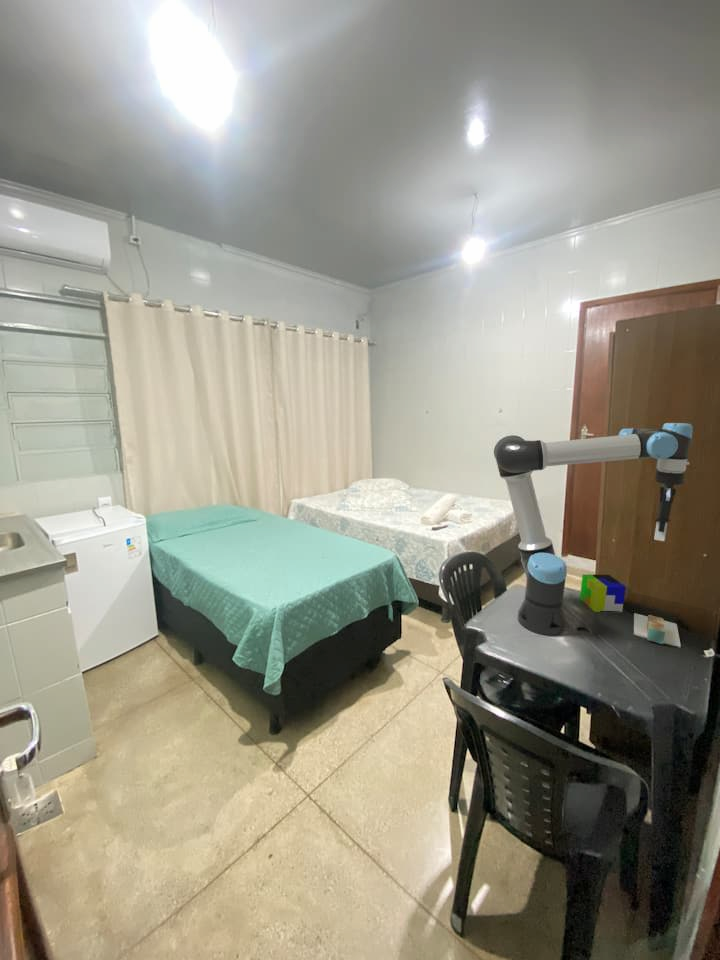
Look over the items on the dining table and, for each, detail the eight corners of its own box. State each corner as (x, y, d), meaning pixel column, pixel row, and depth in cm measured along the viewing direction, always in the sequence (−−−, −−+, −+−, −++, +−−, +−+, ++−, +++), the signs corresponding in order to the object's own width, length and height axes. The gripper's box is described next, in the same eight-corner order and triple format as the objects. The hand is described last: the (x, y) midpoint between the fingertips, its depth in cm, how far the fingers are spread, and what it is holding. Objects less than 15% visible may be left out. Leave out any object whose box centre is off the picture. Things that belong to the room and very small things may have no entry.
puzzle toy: (622, 612, 143) (625, 586, 141) (594, 612, 143) (597, 586, 141) (605, 598, 153) (609, 574, 151) (579, 598, 153) (582, 574, 151)
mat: (633, 634, 129) (634, 633, 129) (633, 614, 141) (634, 613, 141) (680, 647, 122) (680, 645, 122) (676, 625, 135) (676, 623, 134)
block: (646, 625, 133) (647, 639, 125) (648, 614, 133) (649, 628, 125) (661, 629, 131) (663, 644, 123) (663, 618, 130) (665, 632, 122)
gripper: (687, 475, 120) (674, 548, 125) (683, 469, 131) (671, 536, 136) (657, 472, 125) (645, 543, 129) (655, 467, 135) (645, 532, 140)
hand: (659, 539), depth 133 cm, fingers closed
